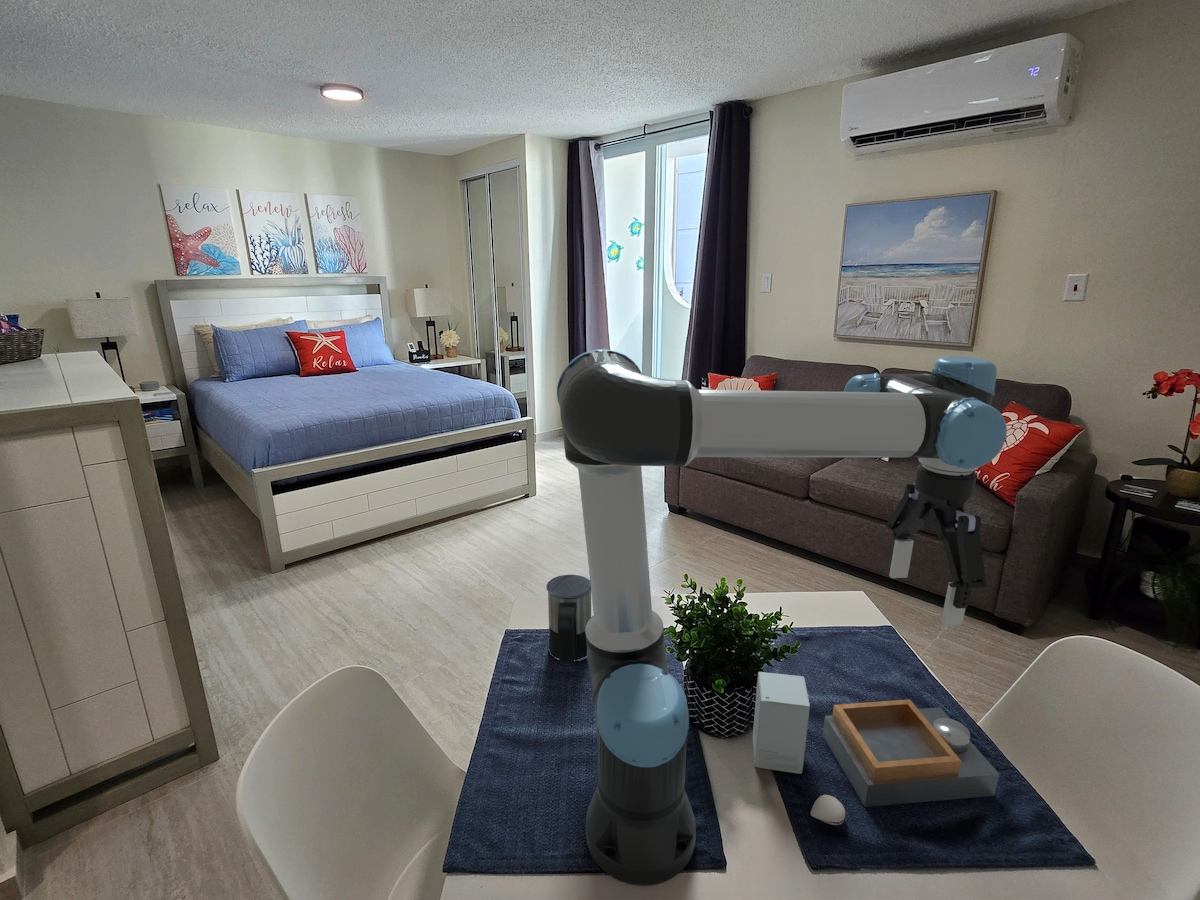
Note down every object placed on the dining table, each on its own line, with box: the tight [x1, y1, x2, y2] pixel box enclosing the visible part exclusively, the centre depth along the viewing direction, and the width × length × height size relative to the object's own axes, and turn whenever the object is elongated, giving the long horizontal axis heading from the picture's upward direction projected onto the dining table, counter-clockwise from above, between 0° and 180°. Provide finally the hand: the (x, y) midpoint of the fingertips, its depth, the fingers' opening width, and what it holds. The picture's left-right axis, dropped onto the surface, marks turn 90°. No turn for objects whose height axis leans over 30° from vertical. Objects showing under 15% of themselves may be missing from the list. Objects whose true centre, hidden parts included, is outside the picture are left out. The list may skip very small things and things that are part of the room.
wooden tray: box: [821, 698, 1000, 808], centre depth 96 cm, size 20×14×6 cm
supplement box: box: [752, 671, 811, 775], centre depth 97 cm, size 7×7×13 cm
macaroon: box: [810, 794, 846, 826], centre depth 87 cm, size 4×5×2 cm
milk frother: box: [545, 574, 592, 665], centre depth 122 cm, size 14×16×15 cm
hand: (922, 599), depth 94 cm, fingers open, 13 cm apart
